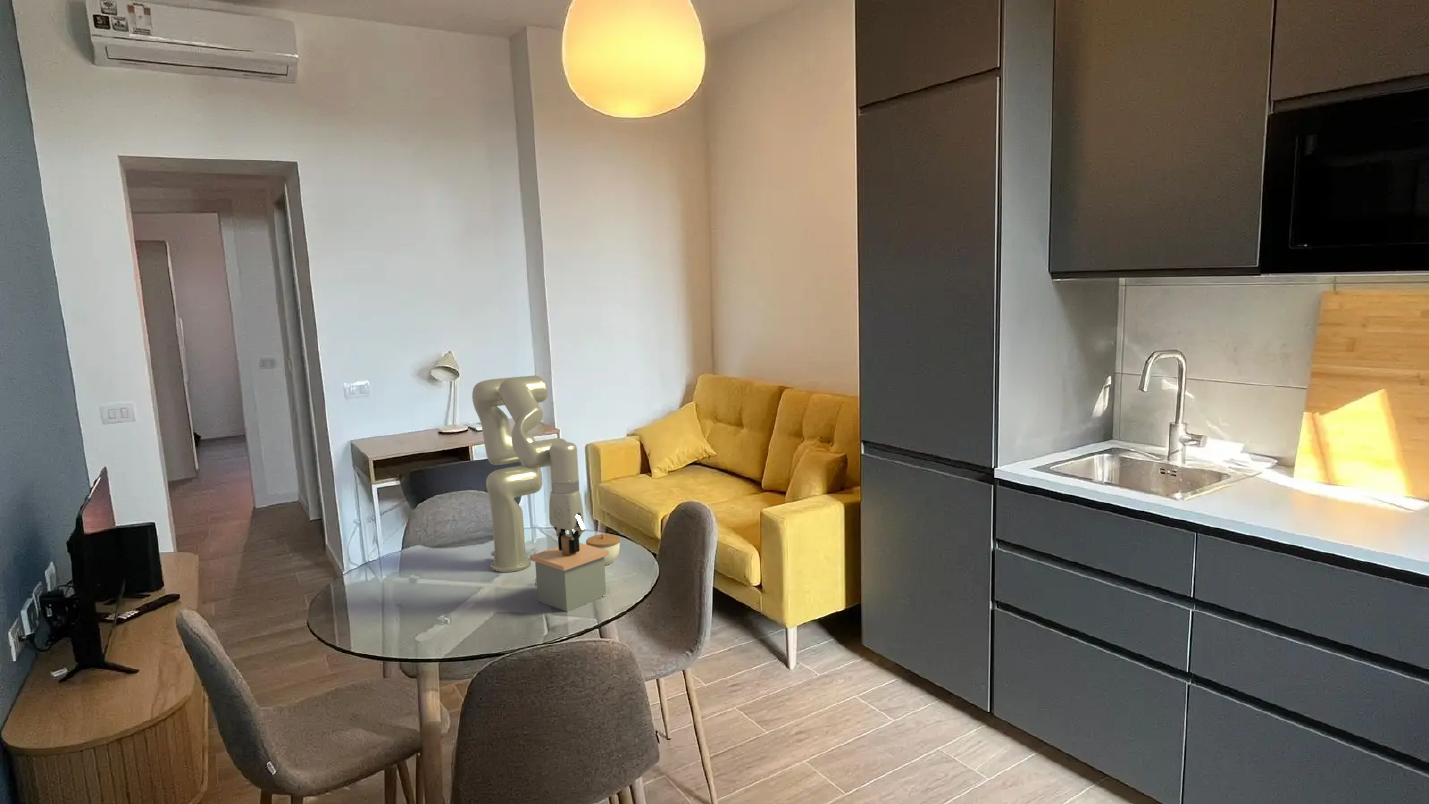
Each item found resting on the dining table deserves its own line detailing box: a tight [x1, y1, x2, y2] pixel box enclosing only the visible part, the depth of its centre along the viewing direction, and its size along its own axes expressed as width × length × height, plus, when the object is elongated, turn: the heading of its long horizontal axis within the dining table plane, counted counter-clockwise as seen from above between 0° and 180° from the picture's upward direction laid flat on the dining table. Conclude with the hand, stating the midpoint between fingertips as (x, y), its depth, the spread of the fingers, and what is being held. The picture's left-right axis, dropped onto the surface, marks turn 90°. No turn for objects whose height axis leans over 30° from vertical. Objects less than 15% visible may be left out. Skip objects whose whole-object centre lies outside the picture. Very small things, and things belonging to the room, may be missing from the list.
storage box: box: [534, 557, 607, 612], centre depth 224 cm, size 13×14×12 cm
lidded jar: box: [585, 533, 621, 566], centre depth 254 cm, size 11×11×9 cm
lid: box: [529, 533, 609, 571], centre depth 223 cm, size 15×16×7 cm
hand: (569, 550), depth 223 cm, fingers closed on lid, 4 cm apart
